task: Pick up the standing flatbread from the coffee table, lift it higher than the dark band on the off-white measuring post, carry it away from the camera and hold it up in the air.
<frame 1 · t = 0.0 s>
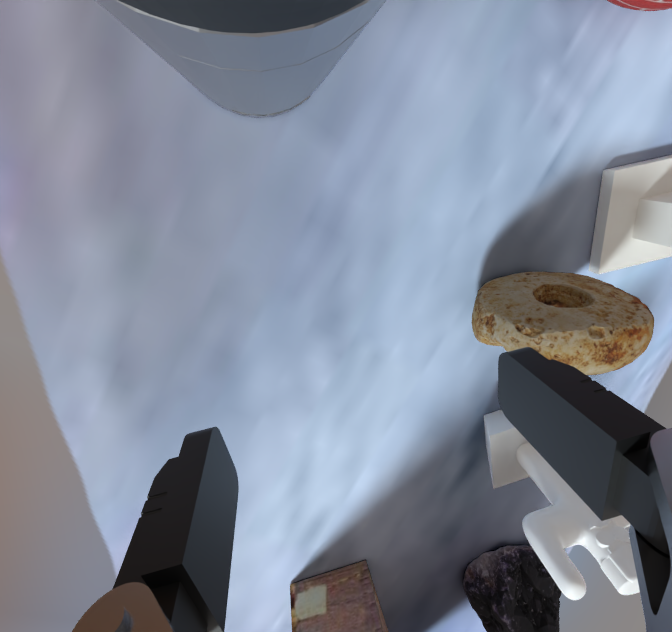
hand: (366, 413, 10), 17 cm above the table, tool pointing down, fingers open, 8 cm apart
measuring post: (641, 212, 29), on the table
figurine: (503, 423, 36), on the table
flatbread: (509, 288, 30), on the table
black rough rounded lump: (502, 567, 48), on the table
brown wooden box: (348, 621, 47), on the table
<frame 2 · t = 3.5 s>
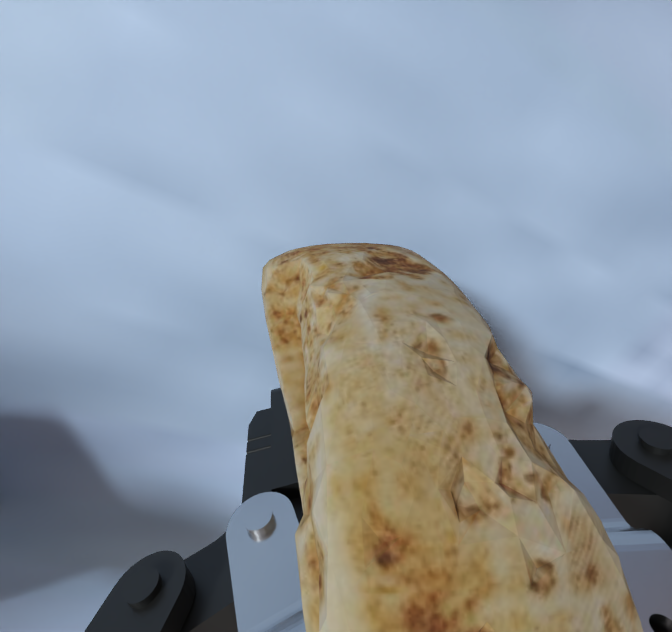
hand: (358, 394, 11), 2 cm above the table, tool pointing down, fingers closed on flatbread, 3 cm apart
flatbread: (343, 364, 13), on the table, touching gripper
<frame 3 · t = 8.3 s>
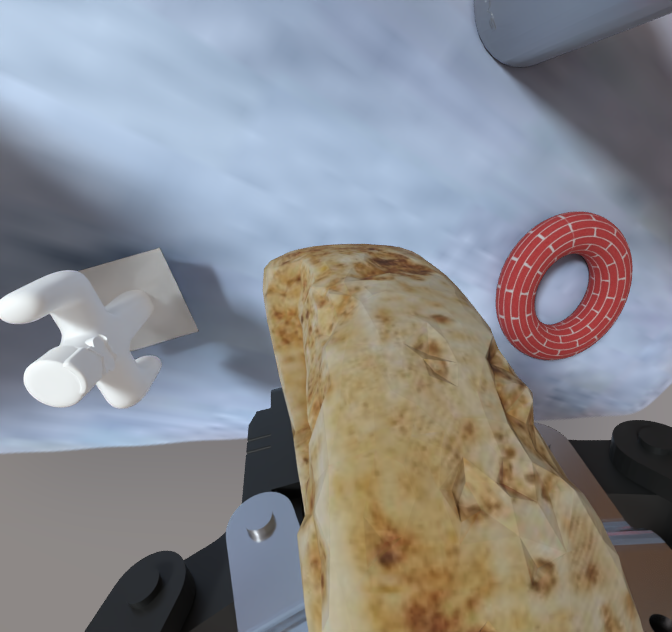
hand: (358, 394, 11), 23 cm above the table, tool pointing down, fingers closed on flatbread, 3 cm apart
figurine: (150, 289, 31), on the table
torus: (549, 285, 39), on the table
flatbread: (343, 364, 13), point 21 cm above the table, touching gripper
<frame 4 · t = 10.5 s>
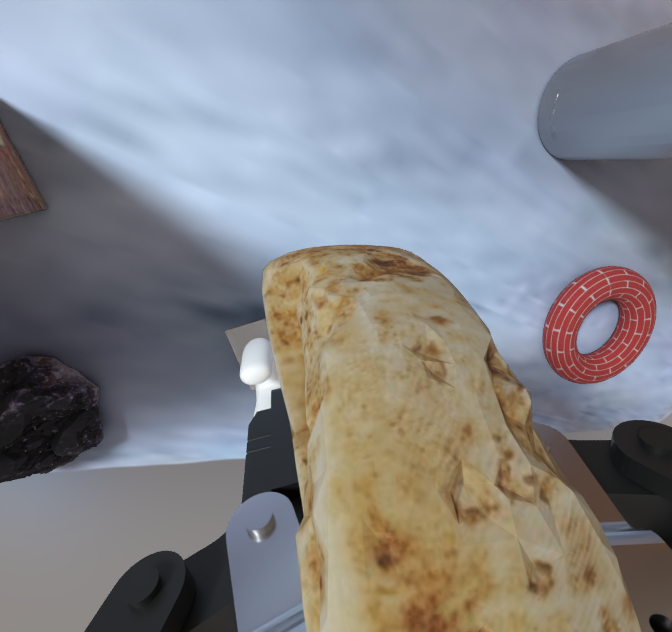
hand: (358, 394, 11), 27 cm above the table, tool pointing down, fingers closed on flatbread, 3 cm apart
figurine: (273, 334, 39), on the table
torus: (585, 321, 46), on the table
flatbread: (343, 364, 13), point 25 cm above the table, touching gripper
black rough rounded lump: (42, 405, 38), on the table
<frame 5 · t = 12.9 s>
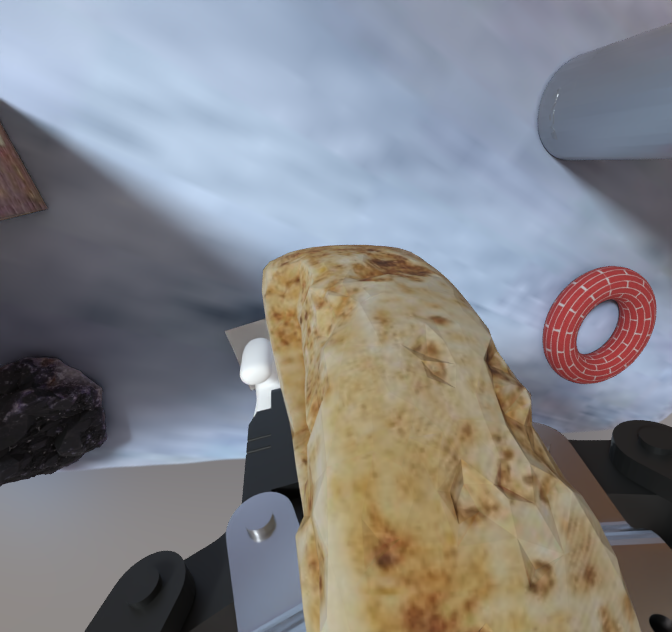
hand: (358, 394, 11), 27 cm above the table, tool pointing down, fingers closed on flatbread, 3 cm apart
figurine: (273, 334, 39), on the table
torus: (585, 321, 46), on the table
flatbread: (343, 364, 13), point 25 cm above the table, touching gripper
black rough rounded lump: (46, 406, 38), on the table
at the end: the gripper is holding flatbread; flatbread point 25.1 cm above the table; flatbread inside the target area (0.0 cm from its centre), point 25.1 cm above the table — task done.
